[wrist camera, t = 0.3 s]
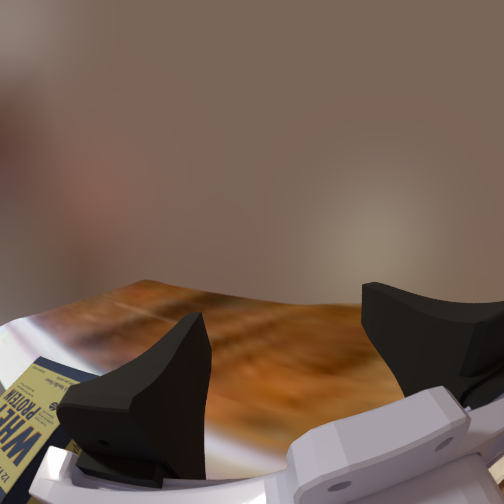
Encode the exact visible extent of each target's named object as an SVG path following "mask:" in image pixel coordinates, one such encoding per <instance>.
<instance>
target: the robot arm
mask: <svg viewBox="0 0 504 504" xmlns="http://www.w3.org/2000/svg"><path fill="white" fill-rule="evenodd" d="M361 324H362V326H363V328H364V330H365V332H366V334H367V336H368V338H369V340H370V341H371V342H372V344H373V345H374V347H375V348H376V350H377V351H378V352H379V354H380V355H381V357H382V358H383V360H384V361H385V362H386V364H387V365H388V367H389V368H390V369H391V371H392V373H393V374H394V376H395V378H396V380H397V382H398V384H399V386H400V388H401V390H402V392H403V394H404V396H405V398H404V399H401V400H398V401H396V402H393V403H390V404H388V405H385V406H382V407H379V408H376V409H373V410H370V411H367V412H364V413H361V414H357V415H354V416H351V417H347V418H344V419H340V420H336V421H332V422H330V423H327V424H324V425H322V426H319V427H316V428H314V429H311V430H309V431H308V432H307V433H305V434H304V435H302V436H301V437H300V438H298V439H297V440H295V441H294V442H293V443H292V444H291V446H290V448H289V450H288V453H287V455H286V458H287V465H288V467H287V469H284V470H281V471H278V472H274V473H270V474H267V475H263V476H259V477H255V478H243V479H226V480H206V473H205V454H204V415H205V405H206V399H207V393H208V387H209V380H210V374H211V360H212V349H211V346H210V342H209V339H208V335H207V332H206V328H205V324H204V321H203V317H202V313H201V312H197V313H189V314H187V315H186V316H184V317H183V318H182V319H181V320H180V321H179V322H178V323H177V324H176V325H175V326H174V327H173V328H172V329H171V330H170V331H169V332H168V333H167V334H166V335H165V336H164V337H162V338H161V339H160V340H159V341H158V342H157V343H155V344H154V345H153V346H152V347H151V348H150V349H148V350H147V351H146V352H144V353H143V354H141V355H140V356H138V357H137V358H135V359H134V360H132V361H130V362H129V363H127V364H125V365H123V366H121V367H120V368H118V369H116V370H114V371H112V372H109V373H107V374H105V375H102V376H100V377H97V378H95V379H92V380H89V381H85V382H82V383H78V384H75V385H71V386H69V388H68V390H67V391H66V393H65V394H64V396H63V398H62V399H61V401H60V403H59V404H58V406H57V408H56V415H57V418H58V420H59V423H60V424H61V426H62V427H63V428H64V430H65V431H66V432H67V433H68V434H69V436H70V437H71V438H72V439H73V440H74V441H75V443H76V444H77V445H78V446H79V447H80V448H81V449H82V451H81V453H80V456H78V455H76V454H75V453H73V452H70V451H67V450H64V449H60V448H57V447H54V446H49V448H48V450H47V452H46V454H45V456H44V459H43V461H42V463H41V465H40V467H39V469H38V471H37V473H36V476H35V478H34V480H33V482H32V485H31V487H30V489H29V494H30V495H32V496H33V497H34V498H35V499H37V500H38V501H40V502H41V503H42V504H504V495H503V493H502V491H501V489H500V488H499V486H498V484H497V483H496V481H495V479H494V478H493V476H492V475H491V473H490V471H489V470H488V469H489V468H490V467H492V466H493V465H494V464H495V463H496V462H497V461H499V460H500V459H501V458H502V457H503V456H504V301H501V302H492V303H457V302H448V301H443V300H437V299H432V298H428V297H424V296H420V295H417V294H413V293H410V292H407V291H404V290H400V289H397V288H395V287H391V286H389V285H385V284H382V283H378V282H371V283H366V284H363V285H362V314H361Z"/></svg>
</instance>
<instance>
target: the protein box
mask: <svg viewBox="0 0 504 504" xmlns="http://www.w3.org/2000/svg"><path fill="white" fill-rule="evenodd" d="M97 377H99V376H98V375H95V374H91V373H87V372H84V371H81V370H77V369H74V368H71V367H68V366H65V365H62V364H60V363H57V362H54V361H51V360H49V359H46V358H43V357H41V356H40V357H39V358H37V359H36V360H35V361H34V362H33V363H32V364H31V365H30V366H29V367H28V368H27V370H26V371H25V372H24V373H23V374H22V375H21V376H20V377H19V378H18V379H17V380H16V381H15V382H14V383H13V384H12V385H11V386H10V387H9V389H8V390H7V391H6V392H5V393H4V394H3V395H2V396H1V397H0V504H42V503H41V502H40V501H38V500H37V499H35V498H34V497H33V496H32V495H30V494H29V489H30V487H31V485H32V482H33V480H34V478H35V476H36V473H37V471H38V469H39V467H40V465H41V463H42V461H43V459H44V456H45V454H46V452H47V450H48V448H49V446H54V447H57V448H60V449H64V450H67V451H70V452H73V453H75V454H76V455H78V456H80V453H81V451H82V449H81V448H80V447H79V446H78V445H77V444H76V443H75V441H74V440H73V439H72V438H71V437H70V436H69V434H68V433H67V432H66V431H65V430H64V428H63V427H62V426H61V424H60V423H59V420H58V418H57V415H56V408H57V406H58V404H59V403H60V401H61V399H62V398H63V396H64V394H65V393H66V391H67V390H68V388H69V386H71V385H75V384H78V383H82V382H85V381H89V380H92V379H95V378H97Z"/></svg>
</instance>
